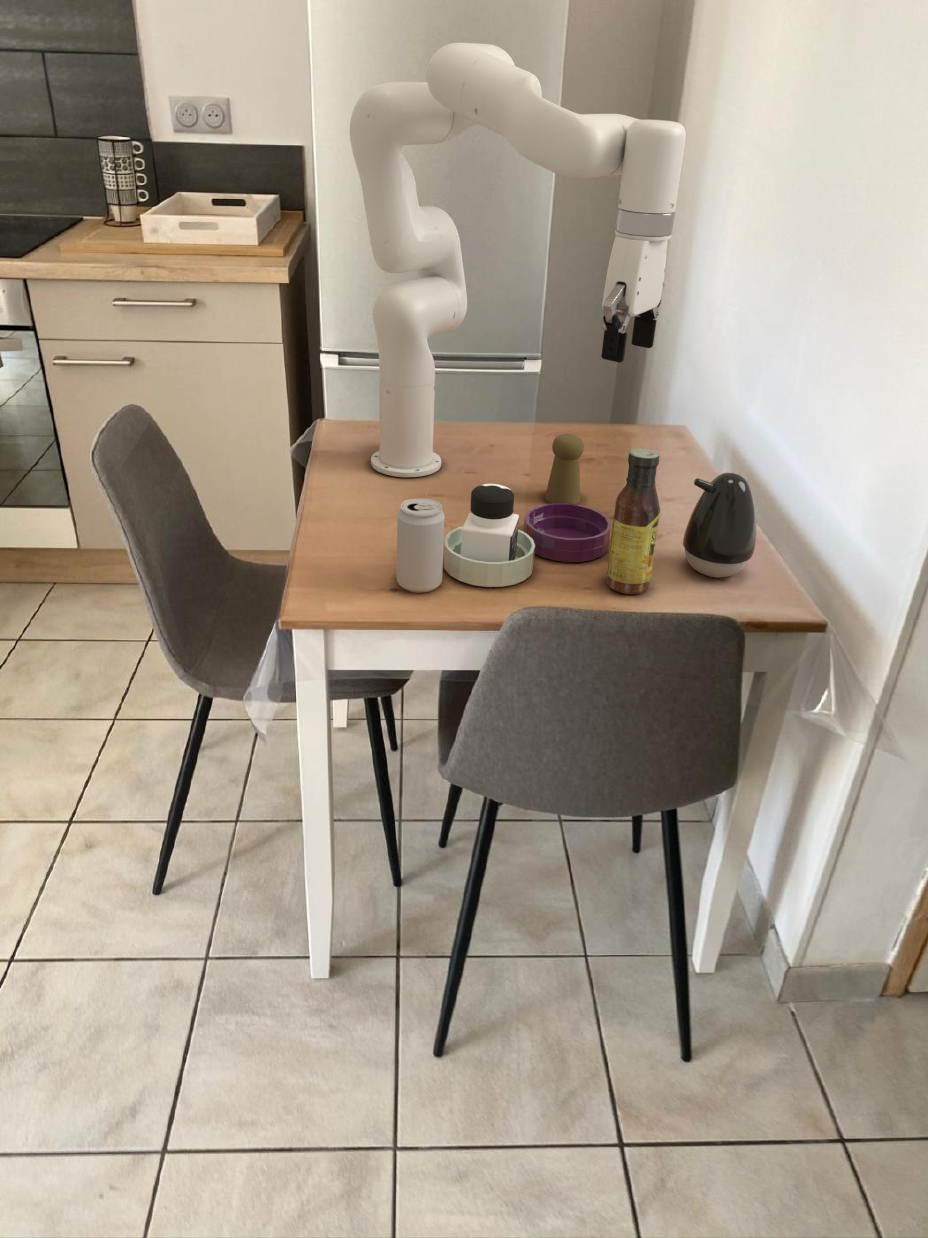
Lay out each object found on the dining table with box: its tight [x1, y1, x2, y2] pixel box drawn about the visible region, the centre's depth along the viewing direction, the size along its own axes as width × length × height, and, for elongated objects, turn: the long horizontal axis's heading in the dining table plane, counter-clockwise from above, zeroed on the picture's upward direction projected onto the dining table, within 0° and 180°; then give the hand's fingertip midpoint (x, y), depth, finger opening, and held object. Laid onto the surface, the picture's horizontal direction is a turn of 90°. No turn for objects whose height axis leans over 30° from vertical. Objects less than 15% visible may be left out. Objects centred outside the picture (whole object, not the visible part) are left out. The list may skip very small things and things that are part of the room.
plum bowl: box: [522, 503, 612, 563], centre depth 146 cm, size 13×13×4 cm
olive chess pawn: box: [544, 433, 585, 505], centre depth 159 cm, size 6×6×11 cm
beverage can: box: [396, 497, 446, 594], centre depth 131 cm, size 6×6×12 cm
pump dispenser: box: [682, 471, 757, 578], centre depth 138 cm, size 10×10×15 cm
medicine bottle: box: [461, 483, 520, 562], centre depth 136 cm, size 7×7×12 cm
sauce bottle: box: [606, 447, 661, 595], centre depth 132 cm, size 7×6×20 cm
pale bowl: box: [443, 525, 536, 588], centre depth 139 cm, size 13×13×4 cm
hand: (627, 352), depth 136 cm, fingers open, 9 cm apart
